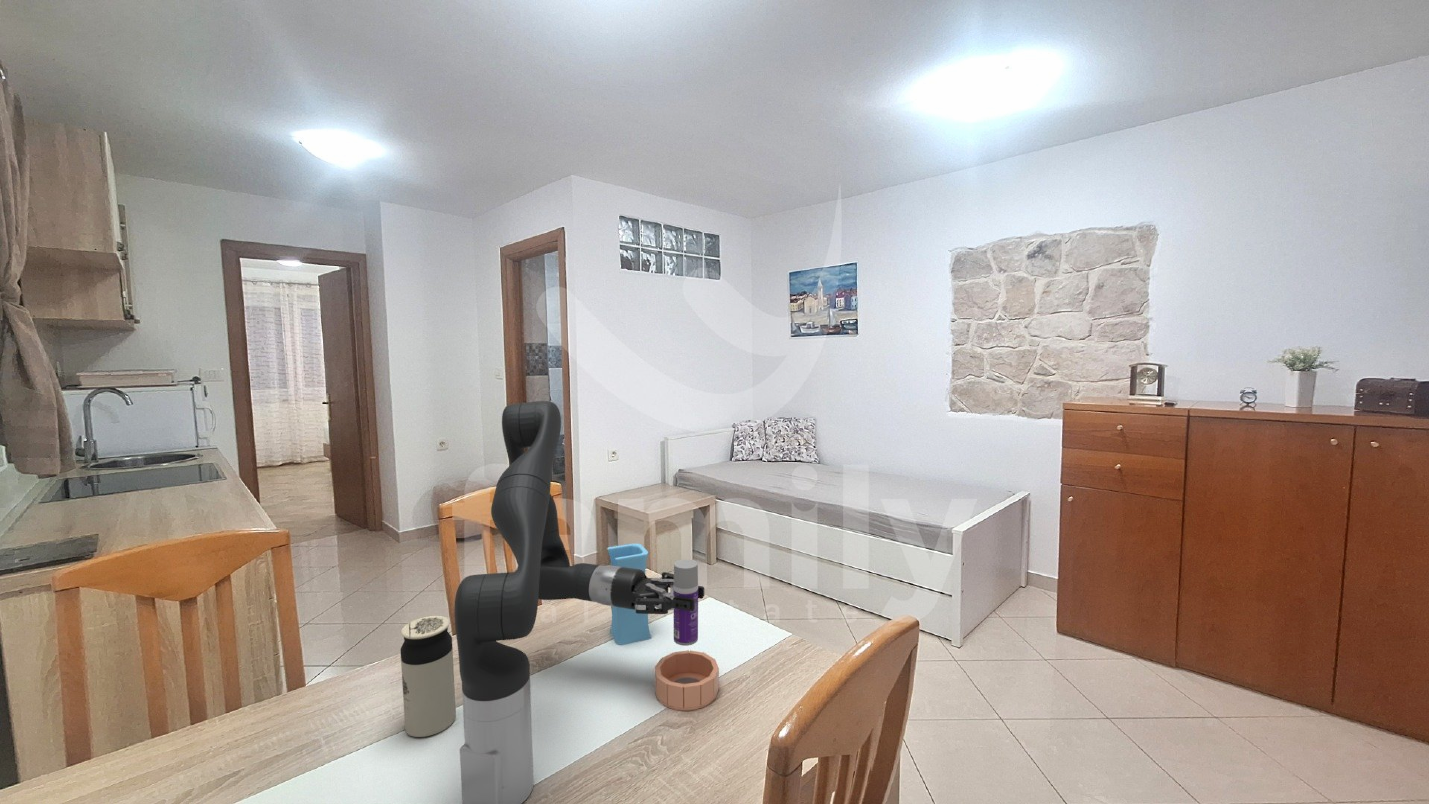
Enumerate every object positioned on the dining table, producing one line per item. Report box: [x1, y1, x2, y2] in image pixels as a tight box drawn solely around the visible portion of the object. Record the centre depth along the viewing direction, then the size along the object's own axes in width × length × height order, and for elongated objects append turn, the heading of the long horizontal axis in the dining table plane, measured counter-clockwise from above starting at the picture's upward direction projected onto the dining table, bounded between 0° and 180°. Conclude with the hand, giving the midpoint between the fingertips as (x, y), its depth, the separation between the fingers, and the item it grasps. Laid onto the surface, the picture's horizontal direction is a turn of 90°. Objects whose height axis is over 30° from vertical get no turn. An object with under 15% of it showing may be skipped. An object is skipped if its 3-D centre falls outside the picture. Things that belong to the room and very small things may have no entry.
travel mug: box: [400, 615, 457, 738], centre depth 96 cm, size 8×8×18 cm
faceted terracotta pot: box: [654, 649, 720, 712], centre depth 106 cm, size 12×12×5 cm
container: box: [673, 558, 699, 647], centre depth 104 cm, size 5×5×15 cm
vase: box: [607, 542, 652, 646], centre depth 126 cm, size 8×8×20 cm
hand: (699, 598), depth 103 cm, fingers closed on container, 4 cm apart
